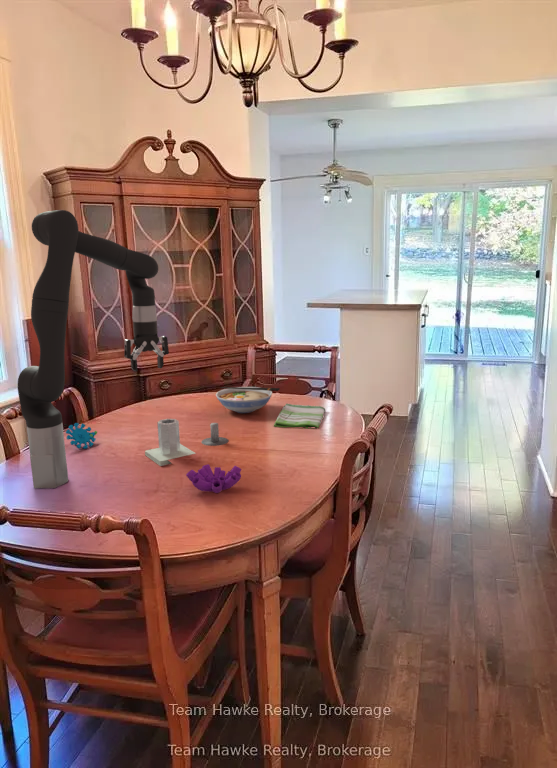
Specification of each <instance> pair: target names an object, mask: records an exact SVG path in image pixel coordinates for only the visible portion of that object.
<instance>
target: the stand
mask: <svg viewBox="0 0 557 768" xmlns="http://www.w3.org/2000/svg"><path fill="white" fill-rule="evenodd" d="M209 427H210V437H206V438H204V439H202V440H201V441H200V442H201V444H202V445H204V446H210V447H219V446H223V445H226V444H228V443H229V438H226V437H222V436H220V433H219V431H220V429H219V422H211V423H210V424H209Z"/></svg>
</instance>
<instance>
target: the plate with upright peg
mask: <svg viewBox="0 0 557 768" xmlns="http://www.w3.org/2000/svg"><path fill="white" fill-rule="evenodd" d="M195 454H197V453H196V452H195V451H193V450H191V449H190V448H188V447H186V446H185V445H183V444H182V443H180V452H179V453H178V454H174V455H162V454H160V453H159V447H157V448H151V449H146V450H145V451H144V455H145V456H146V457H147V458H149V459H150V460H151V461H153V462H154V463H155V464H157V465H158V466H159V467H162V466H167V465H171V464H173V462H171V460H174V459H177V458H181V457H185V456H191V455H195ZM169 460H170V461H169Z"/></svg>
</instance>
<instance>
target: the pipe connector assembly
mask: <svg viewBox="0 0 557 768" xmlns="http://www.w3.org/2000/svg"><path fill="white" fill-rule="evenodd" d="M241 472H242V468H240V467H239V466H237V465H234V466H233V467H232V469H231V470H229V471H227V473H226V470H224V469H223V470H222V469H221V467H214V471H213V470H212V468H211V465H210V464H205V465H202V467H201V468H199V469H198V470H197V472H196V471H195V470H194V469H191V470H189V471H188V472H187V473H186V474H185V475H186V477H187V479H188V480H189V481H190V482H191V484H192V486H194V488H196V489H197V490H198V491H201V492H213V493H215V494H220V493H221V492H222V491H224V490H227V489H231V488H232V487H233V486H235V485H236V484H237V483H238V482H239V481H240V479H241V477H242V474H241Z"/></svg>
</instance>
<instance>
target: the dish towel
mask: <svg viewBox="0 0 557 768" xmlns="http://www.w3.org/2000/svg"><path fill="white" fill-rule="evenodd" d="M324 412H325V413H326V408H325V407H324V406H321V405H309V404H308V405H307V404H306V405H305V404H304V405H302V404H291V403H285V405H284V406H283V407H282V409H281V410H280V412H279V414H278V416H277V418H276V420H275V422H274V424H273V427H274V428H287V427H306V428H305V429H309V428H308V427H317V428H318V427H319V428H320V426H319V425H321V424H322V423H321V420H322V418H323V414H324ZM324 415H325V414H324ZM323 419H324V418H323ZM322 421H323V420H322ZM320 423H321V424H320ZM319 428H318V429H319Z"/></svg>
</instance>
